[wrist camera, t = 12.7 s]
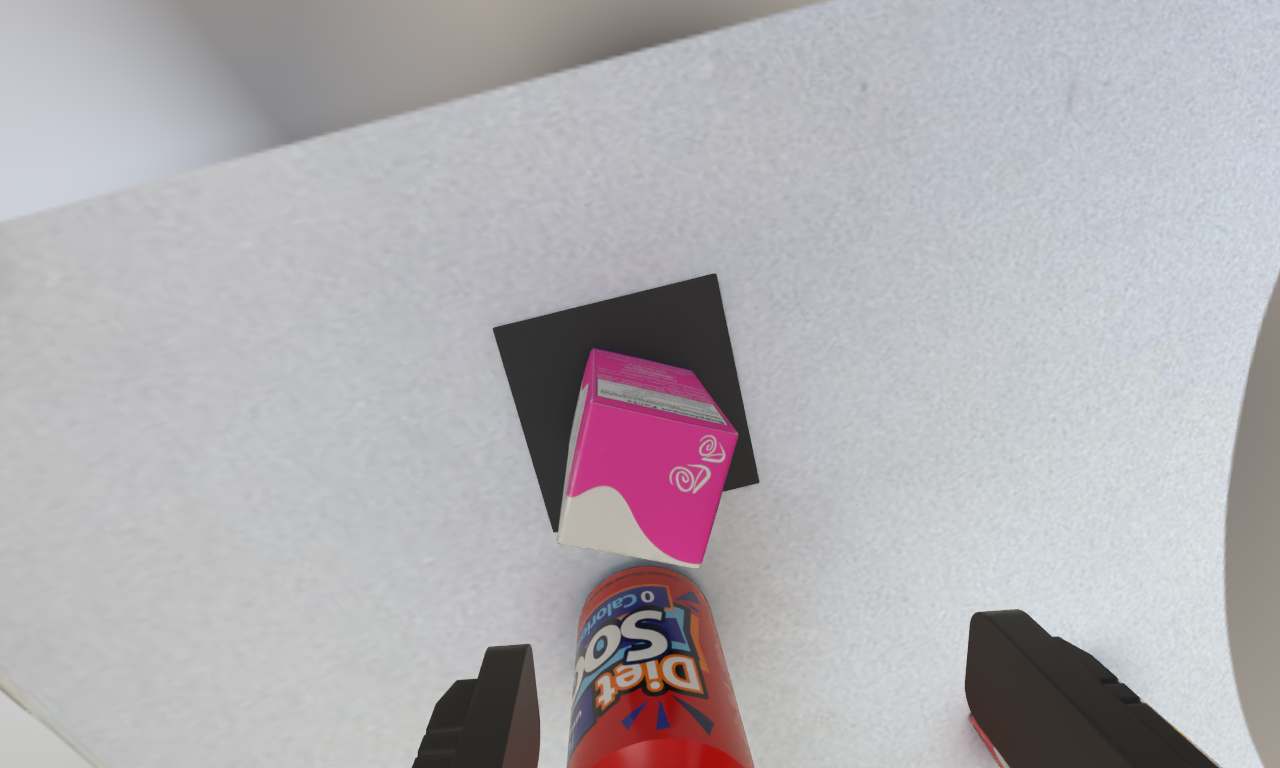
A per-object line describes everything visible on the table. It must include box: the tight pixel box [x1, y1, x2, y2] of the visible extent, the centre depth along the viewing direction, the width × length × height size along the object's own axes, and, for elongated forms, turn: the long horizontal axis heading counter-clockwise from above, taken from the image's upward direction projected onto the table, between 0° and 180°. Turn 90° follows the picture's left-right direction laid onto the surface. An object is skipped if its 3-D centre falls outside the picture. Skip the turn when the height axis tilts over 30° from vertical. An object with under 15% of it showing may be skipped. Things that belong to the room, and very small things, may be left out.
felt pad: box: [493, 274, 759, 532], centre depth 33 cm, size 12×12×1 cm
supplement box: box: [557, 348, 738, 569], centre depth 28 cm, size 6×6×12 cm
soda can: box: [567, 566, 755, 768], centre depth 29 cm, size 8×8×15 cm
